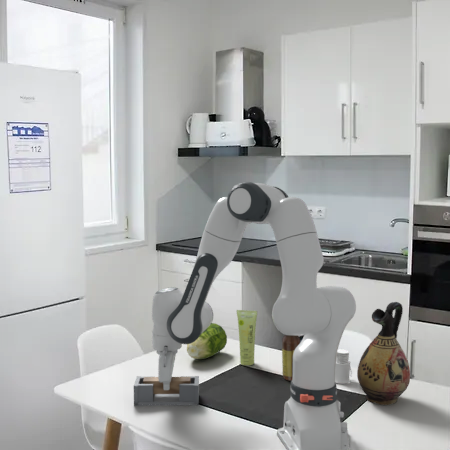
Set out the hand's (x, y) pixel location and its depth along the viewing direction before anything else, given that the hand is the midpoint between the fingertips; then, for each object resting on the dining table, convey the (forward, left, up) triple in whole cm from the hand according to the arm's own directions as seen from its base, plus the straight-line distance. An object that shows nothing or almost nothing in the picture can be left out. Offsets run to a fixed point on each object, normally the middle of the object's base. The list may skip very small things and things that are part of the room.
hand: (167, 386), depth 184 cm
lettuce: (+40, -11, -4) cm, 42 cm away
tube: (+33, -26, -4) cm, 42 cm away
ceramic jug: (0, -66, -4) cm, 66 cm away
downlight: (+16, -56, -4) cm, 58 cm away
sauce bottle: (+18, -40, -4) cm, 44 cm away
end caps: (0, 0, -4) cm, 4 cm away
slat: (0, 0, -2) cm, 2 cm away
